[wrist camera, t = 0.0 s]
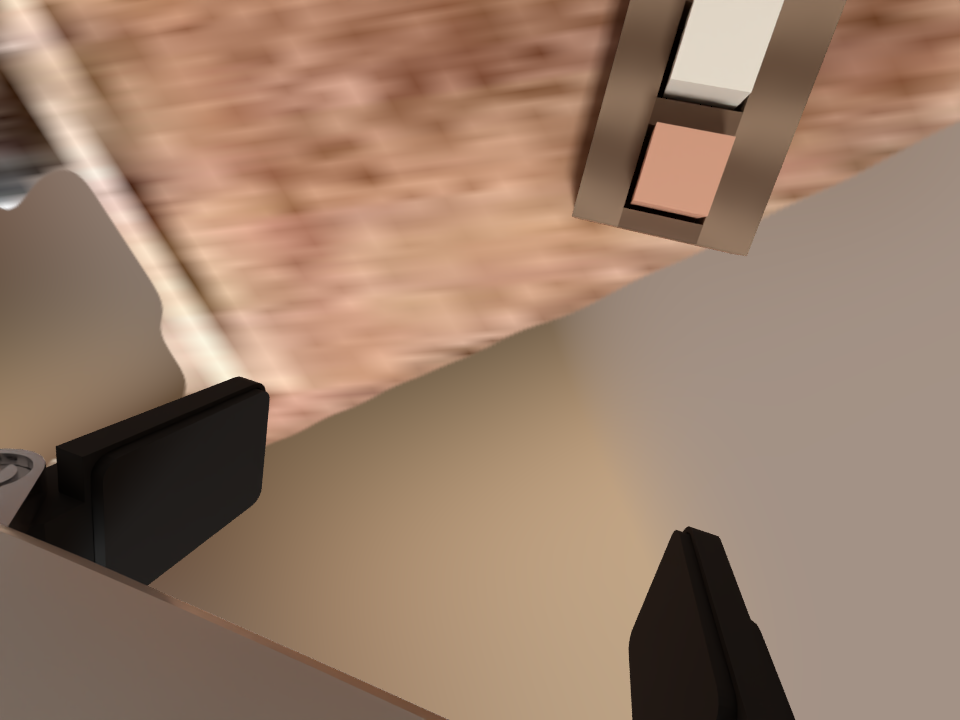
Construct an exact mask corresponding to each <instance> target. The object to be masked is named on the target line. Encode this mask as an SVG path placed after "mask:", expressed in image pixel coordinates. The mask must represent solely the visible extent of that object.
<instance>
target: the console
mask: <svg viewBox="0 0 960 720" xmlns="http://www.w3.org/2000/svg"><path fill="white" fill-rule="evenodd" d="M846 1H847V0H784V2H783V5H782V8H781V11H780V13H779V16H778V19H777V22H776V25H775V27H774V30H773V33H772V36H771V39H770V41H769V44H768V47H767V50H766V53H765V56H764V58H763V61H762V64H761V67H760V70H759V72H758V75H757V78H756V81H755V84H754V86H753V89H752V92H751V93H750V94H749V95H748V96H747V97H746V98H745V99H744V100H743V101H742V102H741V103H740V104H739V105H738V106H737V107H736V108H735V109H734V110H733V111H731V110H726V109H720V108H715V107H709V106H703V105H698V104H692V103H686V102H681V101H675V100H670V99H664V98H658V97H657V94H658V91H659V88H660V84H661V81H662V78H663V75H664V71H665V68H666V65H667V61H668V58H669V55H670V51H671V48H672V45H673V41H674V38H675V35H676V31H677V28H682V29H684V25H685V22H686V19H687V16H688V13H689V11H690V8H691V5H692V3H693V0H630V3H629V7H628V10H627V14H626V18H625V21H624V25H623V29H622V32H621V36H620V40H619V44H618V47H617V51H616V55H615V58H614V62H613V66H612V69H611V73H610V77H609V81H608V84H607V88H606V92H605V95H604V99H603V103H602V106H601V110H600V114H599V118H598V121H597V125H596V129H595V132H594V136H593V140H592V143H591V147H590V151H589V155H588V158H587V162H586V166H585V169H584V173H583V177H582V180H581V184H580V188H579V192H578V195H577V199H576V203H575V206H574V210H573V214H572V216H573V217H575V218H578V219H582V220H587V221H591V222H596V223H600V224H604V225H609V226H613V227H617V228H622V229H626V230H630V231H635V232H639V233H643V234H648V235H652V236H656V237H661V238H665V239H670V240H674V241H678V242H683V243H687V244H691V245H696V246H700V247H704V248H709V249H713V250H717V251H722V252H727V253H730V254H737V255H743V256H747V254H748V251H749V249H750V246H751V244H752V241H753V238H754V236H755V233H756V231H757V228H758V226H759V223H760V221H761V218H762V215H763V213H764V210H765V208H766V205H767V203H768V200H769V198H770V195H771V192H772V190H773V187H774V185H775V182H776V180H777V177H778V175H779V172H780V169H781V167H782V164H783V162H784V159H785V157H786V154H787V152H788V149H789V146H790V144H791V141H792V139H793V136H794V134H795V131H796V129H797V126H798V123H799V121H800V118H801V116H802V113H803V111H804V108H805V105H806V103H807V100H808V98H809V95H810V93H811V90H812V88H813V85H814V82H815V80H816V77H817V75H818V72H819V70H820V67H821V65H822V62H823V59H824V57H825V54H826V52H827V49H828V47H829V44H830V42H831V39H832V36H833V34H834V31H835V29H836V26H837V24H838V21H839V18H840V16H841V13H842V11H843V8H844V6H845V3H846ZM657 122H660V123H665V124H671V125H676V126H681V127H687V128H692V129H697V130H703V131H708V132H713V133H719V134H724V135H730V136H735V137H736V138H735V141H734V144H733V146H732V149H731V152H730V155H729V158H728V160H727V163H726V166H725V169H724V172H723V175H722V177H721V180H720V183H719V186H718V189H717V191H716V194H715V197H714V200H713V203H712V205H711V208H710V211H709V214H708V216H707V217H701V218H696V219H695V222H694V223H691V222H686V221H682V220H677V219H673V218H668V217H664V216H659V215H655V214H650V213H646V212H641V211H637V210H632V209H628V208H623V207H624V204H625V201H626V197H627V194H628V191H629V187H630V184H631V181H632V177H633V174H634V171H635V167H636V164H637V161H638V157H639V154H640V151H641V148H642V144H643V141H644V138H645V136H648V137H651V134H652V132H653V130H654V128H655V125H656V123H657Z"/></svg>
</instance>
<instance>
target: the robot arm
mask: <svg viewBox="0 0 960 720" xmlns="http://www.w3.org/2000/svg"><path fill="white" fill-rule="evenodd" d="M268 411H269V394H268V393H267V392H266V390H265V387H264V386H263V385H262V384H261V383H258V382H255V381H252V380H249V379H246V378H243V377H235V378H232V379H230V380H227V381H224V382H222V383H219V384H217V385H214V386H211V387H209V388H206V389H204V390H201V391H198V392H196V393H193V394H191V395H188V396H185V397H183V398H180V399H178V400H175V401H172V402H170V403H167V404H165V405H162V406H160V407H157V408H154V409H152V410H149V411H146V412H144V413H141V414H139V415H136V416H134V417H131V418H128V419H126V420H123V421H120V422H118V423H116V424H113V425H110V426H107V427H105V428H102V429H100V430H97V431H95V432H92V433H89V434H87V435H84V436H82V437H79V438H76V439H74V440H72V441H69V442H66V443H63V444H61V445H59V446H56V457H57V463H56V464H54V465H52V466H49V467H47V468H46V462H45V460H44V459H43V457H42V456H41V455H39V454H37V453H35V452H32V451H28V450H23V449H0V720H448V719H446V718H444V717H441V716H439V715H437V714H435V713H433V712H430V711H428V710H426V709H424V708H421V707H419V706H417V705H415V704H413V703H410V702H408V701H406V700H404V699H402V698H399V697H397V696H395V695H393V694H390V693H388V692H386V691H384V690H381V689H379V688H377V687H375V686H373V685H370V684H368V683H366V682H364V681H361V680H359V679H357V678H355V677H352V676H350V675H348V674H346V673H344V672H341V671H339V670H336V669H335V668H332V667H330V666H328V665H326V664H323V663H321V662H319V661H317V660H315V659H312V658H310V657H308V656H306V655H303V654H301V653H299V652H297V651H294V650H292V649H290V648H288V647H285V646H283V645H281V644H279V643H276V642H274V641H272V640H269V639H267V638H265V637H263V636H261V635H258V634H256V633H254V632H251V631H249V630H247V629H245V628H242V627H240V626H238V625H236V624H233V623H231V622H229V621H227V620H224V619H222V618H220V617H218V616H215V615H213V614H211V613H208V612H206V611H204V610H202V609H199V608H197V607H195V606H193V605H190V604H188V603H186V602H183V601H181V600H179V599H177V598H174V597H172V596H170V595H167V594H165V593H163V592H160V591H158V590H156V589H154V588H151V587H149V586H148V585H149V584H150V583H151V582H153V581H154V580H155V579H157V578H158V577H159V576H160V575H162V574H163V573H164V572H166V571H167V570H168V569H170V568H171V567H172V566H174V565H175V564H176V563H178V561H180V560H181V559H183V558H184V557H185V556H187V555H188V554H189V553H190V552H192V551H193V550H195V549H196V548H197V547H198V546H199V545H201V544H202V543H204V542H205V541H206V540H207V539H209V538H210V537H211V536H213V535H214V534H215V533H217V532H218V531H219V530H221V529H222V528H223V527H225V526H226V525H227V524H228V523H230V522H231V521H232V520H234V519H235V518H236V517H238V516H239V515H240V514H242V513H243V512H244V511H245V510H247V509H248V508H249V507H251V506H252V505H253V504H254V503H255V502H256V501H257V499H258V497H259V496H260V493H261V489H262V478H263V467H264V456H265V445H266V434H267V422H268ZM629 666H630V684H631V702H632V718H633V719H632V720H795V718H794V715H793V713H792V710H791V708H790V705H789V702H788V700H787V697H786V695H785V692H784V690H783V687H782V685H781V682H780V679H779V677H778V674H777V672H776V669H775V667H774V664H773V662H772V659H771V657H770V654H769V651H768V649H767V646H766V644H765V641H764V639H763V636H762V633H761V631H760V630H759V628H758V626H757V624H755V623H754V622H753V621H752V620H751V619H750V616H749V614H748V611H747V609H746V606H745V604H744V600H743V598H742V595H741V592H740V590H739V587H738V585H737V582H736V579H735V577H734V574H733V571H732V569H731V566H730V563H729V561H728V558H727V556H726V553H725V550H724V547H723V545H722V542H721V540H720V538H719V537H718V536H716V535H713V534H710V533H707V532H704V531H701V530H698V529H695V528H692V527H687V528H685V530H684V531H683V532H681V531H678V530H676V531H674V533H673V534H672V536H671V539H670V541H669V543H668V546H667V548H666V550H665V553H664V555H663V558H662V560H661V562H660V565H659V567H658V570H657V572H656V574H655V577H654V579H653V582H652V584H651V586H650V589H649V591H648V593H647V596H646V598H645V601H644V603H643V606H642V608H641V610H640V613H639V615H638V617H637V620H636V622H635V625H634V627H633V630H632V632H631V636H630V641H629Z"/></svg>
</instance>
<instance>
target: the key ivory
mask: <svg viewBox="0 0 960 720" xmlns="http://www.w3.org/2000/svg"><path fill="white" fill-rule="evenodd" d="M783 2H784V0H693V3H692V5H691V8H690V11H689V13H688V16H687V19H686V22H685V25H684V29H683V32H682V35H681V39H680V42H679V45H678V48H677V52H676V55H675V58H674V61H673V65H672V68H671V71H670V75H669V78H668V81H667V84H666V88H665V91H664V94H663V97H665V98H670V99H676V100H682V101H687V102H693V103H699V104H704V105H710V106H716V107H721V108H727V109H733V110H734V109H735V108H736V107H737V106H738V105H739V104H740V103H741V102H742V101H743V100H744V99H745V98H746V97H747V96H748V95H749V94H750V93H751V92H752V89H753V86H754V84H755V81H756V78H757V75H758V72H759V70H760V67H761V64H762V61H763V58H764V56H765V53H766V50H767V47H768V44H769V41H770V39H771V36H772V33H773V30H774V27H775V25H776V22H777V19H778V16H779V13H780V11H781V8H782V5H783Z"/></svg>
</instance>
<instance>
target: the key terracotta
mask: <svg viewBox="0 0 960 720" xmlns="http://www.w3.org/2000/svg"><path fill="white" fill-rule="evenodd" d="M735 138H736V137H735V136H730V135H724V134H719V133H713V132H708V131H703V130H697V129H692V128H687V127H681V126H676V125H671V124H665V123H660V122H657V123H656V125H655V128H654V130H653V132H652V134H651V137H650V140H649V144H648V147H647V150H646V154H645V157H644V160H643V163H642V167H641V170H640V173H639V176H638V180H637V183H636V186H635V190H634V193H633V196H632V199H631V203H630V204H633V205H637V206H642V207H646V208H651V209H655V210H660V211H664V212H669V213H674V214H678V215H683V216H687V217H692V218H701V217H707V216H708V214H709V211H710V208H711V205H712V203H713V200H714V197H715V194H716V191H717V189H718V186H719V183H720V180H721V177H722V175H723V172H724V169H725V166H726V163H727V160H728V158H729V155H730V152H731V149H732V146H733V144H734V141H735Z"/></svg>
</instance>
